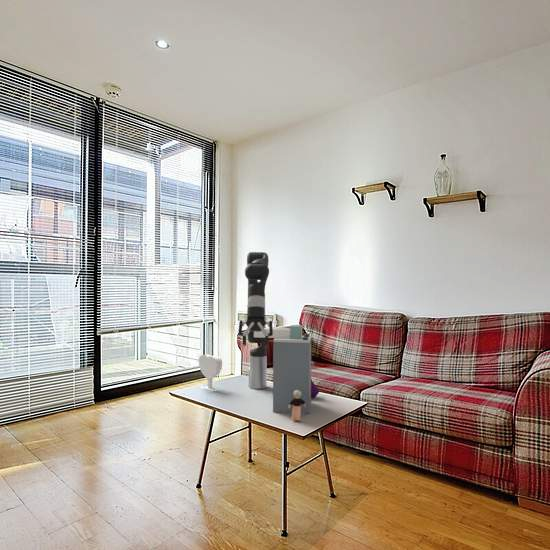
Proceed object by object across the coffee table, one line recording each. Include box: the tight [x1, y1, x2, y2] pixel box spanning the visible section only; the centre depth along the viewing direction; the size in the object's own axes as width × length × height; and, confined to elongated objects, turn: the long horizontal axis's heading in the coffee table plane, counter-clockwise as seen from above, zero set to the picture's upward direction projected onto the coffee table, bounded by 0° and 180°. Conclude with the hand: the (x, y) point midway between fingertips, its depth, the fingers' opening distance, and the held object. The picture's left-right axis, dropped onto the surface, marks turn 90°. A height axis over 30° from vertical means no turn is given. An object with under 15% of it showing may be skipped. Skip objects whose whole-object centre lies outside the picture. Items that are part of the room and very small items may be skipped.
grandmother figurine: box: [288, 390, 306, 422], centre depth 170 cm, size 8×4×13 cm, turn 114°
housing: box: [272, 333, 312, 414], centre depth 188 cm, size 16×16×33 cm
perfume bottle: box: [311, 360, 321, 400], centre depth 204 cm, size 8×8×18 cm
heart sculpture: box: [198, 354, 223, 392], centre depth 219 cm, size 16×5×18 cm, turn 48°
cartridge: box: [254, 324, 303, 339], centre depth 189 cm, size 22×6×6 cm, turn 82°
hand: (255, 345), depth 168 cm, fingers open, 8 cm apart
